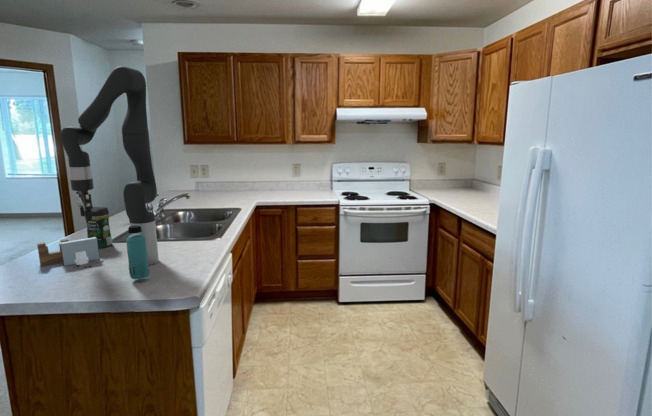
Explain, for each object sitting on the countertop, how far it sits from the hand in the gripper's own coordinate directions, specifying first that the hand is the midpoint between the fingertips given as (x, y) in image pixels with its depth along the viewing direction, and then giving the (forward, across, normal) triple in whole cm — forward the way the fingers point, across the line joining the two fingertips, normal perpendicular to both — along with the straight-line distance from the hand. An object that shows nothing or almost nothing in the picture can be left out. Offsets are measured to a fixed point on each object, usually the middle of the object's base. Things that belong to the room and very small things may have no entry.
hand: (86, 217), depth 152 cm
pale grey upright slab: (+18, 0, +4) cm, 18 cm away
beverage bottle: (+18, -37, -8) cm, 42 cm away
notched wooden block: (+18, +5, +12) cm, 22 cm away
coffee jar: (+18, +19, -7) cm, 27 cm away
